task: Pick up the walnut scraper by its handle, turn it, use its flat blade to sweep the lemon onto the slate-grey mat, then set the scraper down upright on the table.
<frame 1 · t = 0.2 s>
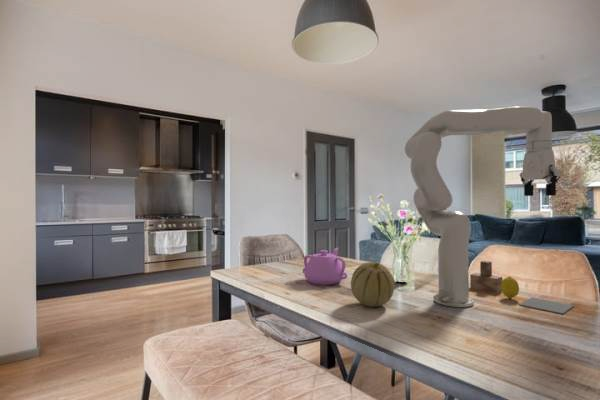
hand: (539, 195, 124), 37 cm above the table, tool pointing down, fingers open, 9 cm apart
walnut scraper: (486, 289, 137), on the table
slate mat: (546, 305, 116), on the table
teapot: (326, 281, 154), on the table
lemon: (509, 299, 124), on the table
cantaloupe: (372, 306, 118), on the table
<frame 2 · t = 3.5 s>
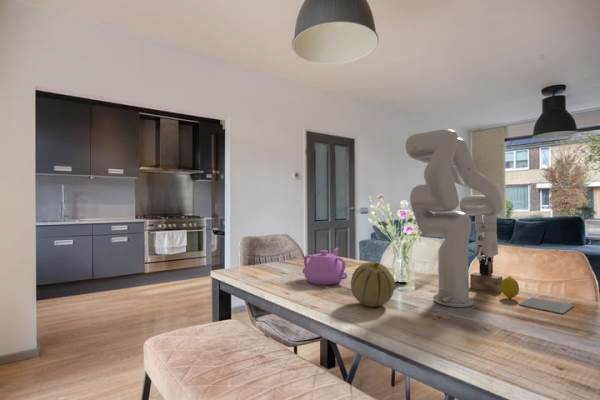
hand: (486, 273, 137), 6 cm above the table, tool pointing down, fingers closed on walnut scraper, 3 cm apart
walnut scraper: (486, 289, 137), on the table, touching gripper
everything else where it was.
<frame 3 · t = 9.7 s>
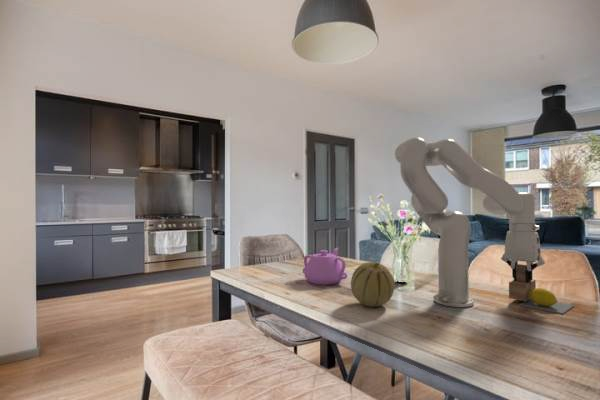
hand: (522, 280, 121), 7 cm above the table, tool pointing down, fingers closed on walnut scraper, 3 cm apart
walnut scraper: (522, 296, 121), point 2 cm above the table, touching gripper, lemon
lemon: (527, 293, 117), point 4 cm above the table, touching walnut scraper
everything else where it was.
when the fingers open (7 cm above the table, at t = 17.0 s): walnut scraper drops 2 cm, on the table.
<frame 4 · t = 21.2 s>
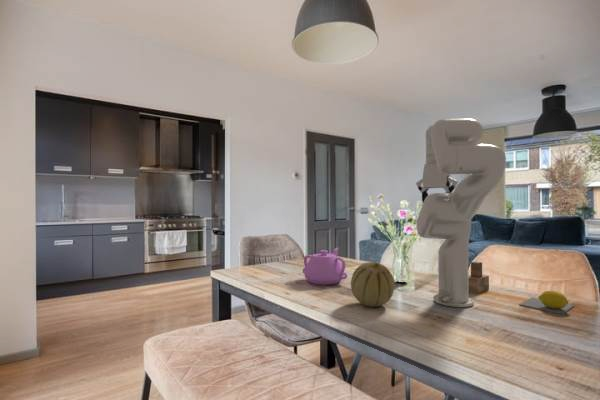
hand: (436, 202, 140), 34 cm above the table, tool pointing down, fingers open, 9 cm apart
walnut scraper: (476, 290, 136), on the table
lemon: (537, 297, 115), point 3 cm above the table, touching slate mat
everything else where it was.
at the end: lemon inside the target area on the slate mat (3.2 cm from its centre), point 3.2 cm above the slate mat's base; walnut scraper tilted 0°; the gripper is holding nothing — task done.
